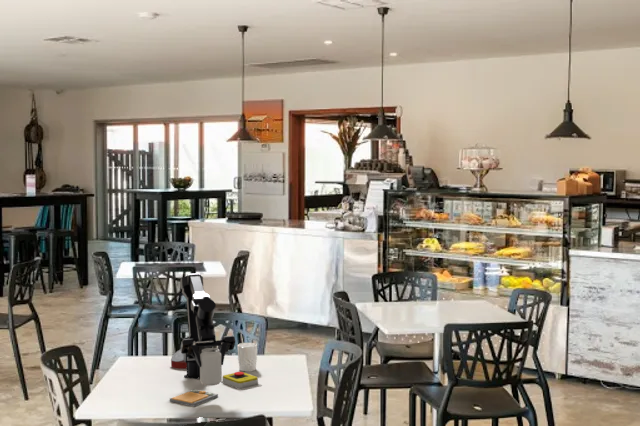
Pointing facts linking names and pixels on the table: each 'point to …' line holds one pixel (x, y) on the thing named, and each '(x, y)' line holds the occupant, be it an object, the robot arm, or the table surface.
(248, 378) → the emergency button
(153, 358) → the table surface
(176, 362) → the grey red slanted block
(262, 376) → the table surface
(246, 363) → the white cup
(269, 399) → the table surface
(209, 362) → the can
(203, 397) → the indicator board
